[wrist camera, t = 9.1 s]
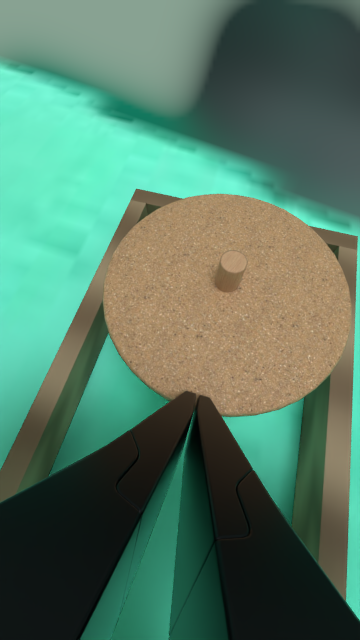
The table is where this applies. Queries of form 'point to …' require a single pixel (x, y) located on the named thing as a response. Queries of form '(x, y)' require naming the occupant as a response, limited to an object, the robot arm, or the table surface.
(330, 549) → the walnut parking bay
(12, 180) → the table surface
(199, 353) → the lidded jar
